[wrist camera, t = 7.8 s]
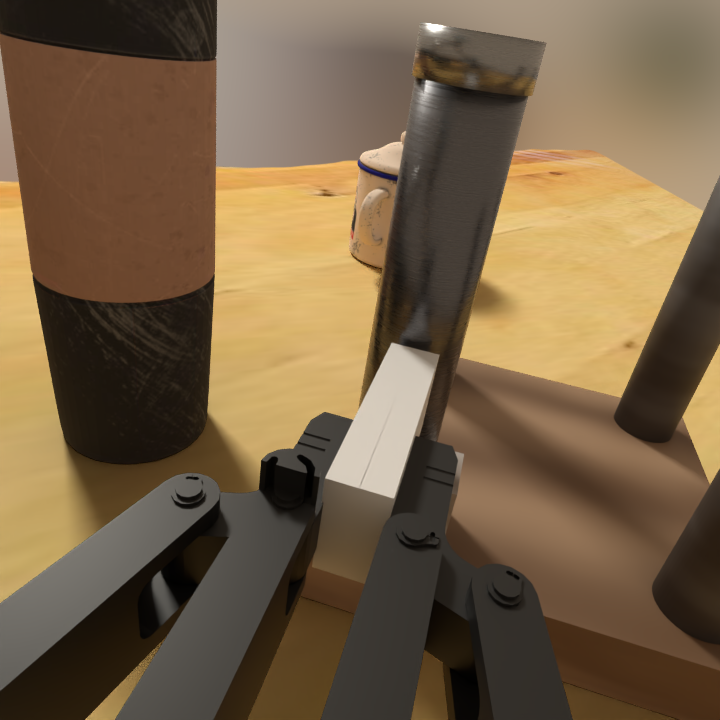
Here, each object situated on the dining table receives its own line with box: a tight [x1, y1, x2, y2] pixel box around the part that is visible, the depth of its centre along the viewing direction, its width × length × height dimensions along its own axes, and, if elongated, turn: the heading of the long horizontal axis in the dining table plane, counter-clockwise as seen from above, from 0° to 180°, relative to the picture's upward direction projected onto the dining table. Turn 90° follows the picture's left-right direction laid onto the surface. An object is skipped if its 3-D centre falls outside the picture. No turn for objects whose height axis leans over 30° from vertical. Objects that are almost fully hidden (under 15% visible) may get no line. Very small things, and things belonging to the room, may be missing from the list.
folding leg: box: [358, 23, 546, 442], centre depth 19 cm, size 3×3×15 cm
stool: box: [300, 176, 720, 720], centre depth 24 cm, size 17×17×20 cm
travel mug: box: [0, 0, 217, 464], centre depth 26 cm, size 8×8×20 cm
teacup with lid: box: [349, 131, 406, 268], centre depth 54 cm, size 12×9×12 cm
